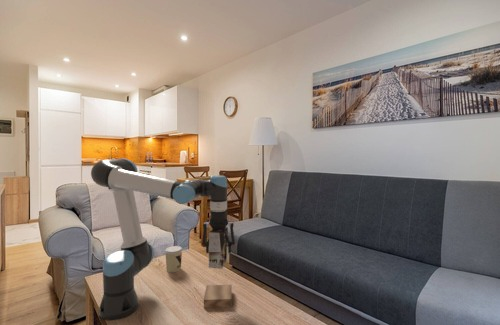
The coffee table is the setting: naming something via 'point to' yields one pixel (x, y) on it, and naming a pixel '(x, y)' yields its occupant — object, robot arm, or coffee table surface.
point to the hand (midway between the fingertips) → (218, 259)
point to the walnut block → (217, 296)
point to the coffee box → (217, 248)
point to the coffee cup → (173, 258)
